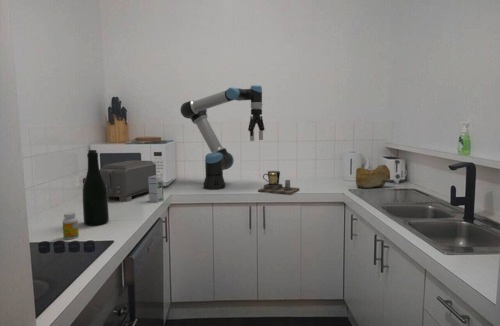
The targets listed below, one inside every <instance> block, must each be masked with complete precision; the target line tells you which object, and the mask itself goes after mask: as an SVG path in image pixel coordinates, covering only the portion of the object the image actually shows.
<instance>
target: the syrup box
mask: <svg viewBox="0 0 500 326" xmlns="http://www.w3.org/2000/svg"><path fill="white" fill-rule="evenodd" d="M148 181H149V193H148V194H149V198H148V199H149V202H151V203H159V202H162V201H164V199H165V198H164V184H163V181H164V180H163V176H162V175H159V174H158V175H157V174H156V175H155V176H151V177H148Z"/></svg>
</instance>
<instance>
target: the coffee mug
mask: <svg viewBox="0 0 500 326" xmlns="http://www.w3.org/2000/svg"><path fill="white" fill-rule="evenodd" d="M269 173H277V184H280V176H281V171H280V170H269V171H267V173H264V174H263V175H262V178H263V180H265V181H266V182H267V183H269ZM265 176H267V178H268V180H267V179H266V178H265Z"/></svg>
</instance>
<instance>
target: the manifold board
mask: <svg viewBox="0 0 500 326" xmlns="http://www.w3.org/2000/svg"><path fill="white" fill-rule="evenodd" d="M299 191H300V187H291V180H290V179H285V180H284V186H283V184H282V183H279V184H277V186H271V185H269V182H267V183H266V184H263V187H261V188H259V189H257V193H264V194H265V193H266V194H267V193H268V194H275V195H277V194H278V195H287V196H291V195H293V194H295V193H297V192H299Z"/></svg>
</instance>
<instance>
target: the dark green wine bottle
mask: <svg viewBox="0 0 500 326" xmlns="http://www.w3.org/2000/svg"><path fill="white" fill-rule="evenodd" d="M87 152H88V153H87V154H86V155H87V157H86V158H87V171H86V175H85V178H84V182H83V184H82V213H83V214H82V216H83V223H84V225H86V226H100V225H104V224H107V223H108V222H109V220H110V217H109V202H108V201H109V200H108V199H107V189H106V184H105V182H104V180H103V177H102V175H101V173H100V165H99V153H98V152H97V149H89V150H87Z"/></svg>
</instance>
